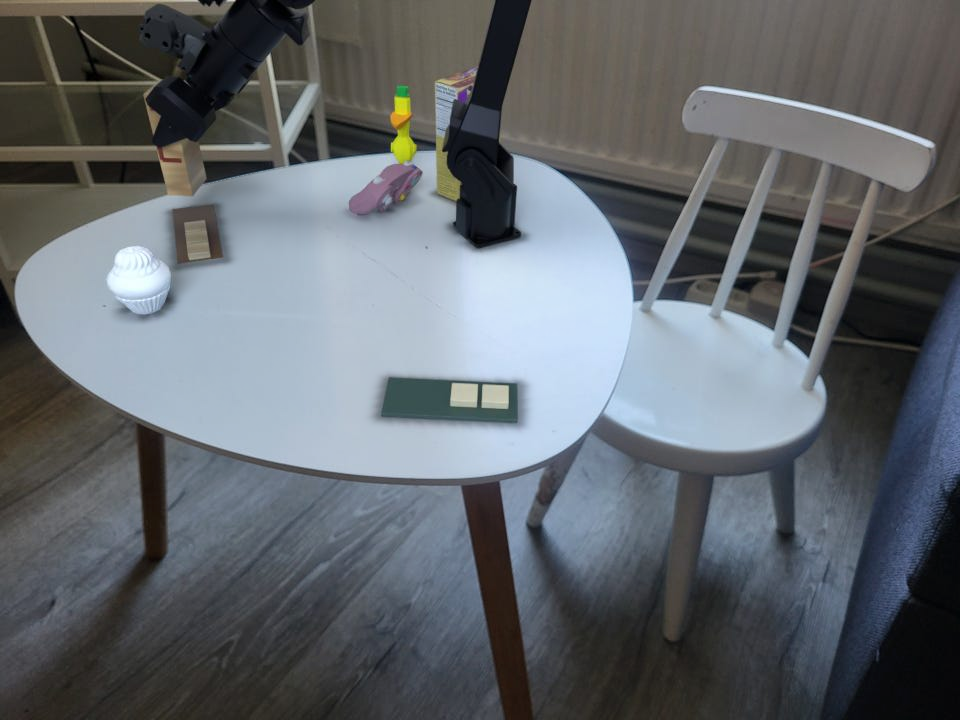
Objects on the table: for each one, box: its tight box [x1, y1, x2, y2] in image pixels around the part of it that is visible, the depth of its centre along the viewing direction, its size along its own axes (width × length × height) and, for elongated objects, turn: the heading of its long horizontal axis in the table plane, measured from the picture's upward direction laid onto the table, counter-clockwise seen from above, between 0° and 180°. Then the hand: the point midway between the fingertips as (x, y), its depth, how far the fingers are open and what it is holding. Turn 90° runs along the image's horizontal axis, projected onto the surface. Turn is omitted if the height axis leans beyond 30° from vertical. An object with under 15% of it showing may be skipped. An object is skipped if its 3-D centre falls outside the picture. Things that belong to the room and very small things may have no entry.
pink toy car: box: [348, 160, 423, 215], centre depth 96 cm, size 10×5×7 cm, turn 148°
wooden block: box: [142, 79, 208, 197], centre depth 87 cm, size 3×5×12 cm, turn 178°
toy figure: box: [389, 85, 418, 164], centre depth 102 cm, size 7×4×12 cm, turn 172°
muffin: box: [105, 245, 172, 316], centre depth 76 cm, size 6×6×7 cm
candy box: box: [434, 65, 501, 202], centre depth 98 cm, size 9×4×15 cm, turn 140°
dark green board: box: [381, 376, 518, 424], centre depth 68 cm, size 12×5×1 cm, turn 88°
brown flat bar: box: [172, 203, 224, 265], centre depth 90 cm, size 14×5×1 cm, turn 20°
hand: (164, 135), depth 87 cm, fingers closed on wooden block, 5 cm apart
